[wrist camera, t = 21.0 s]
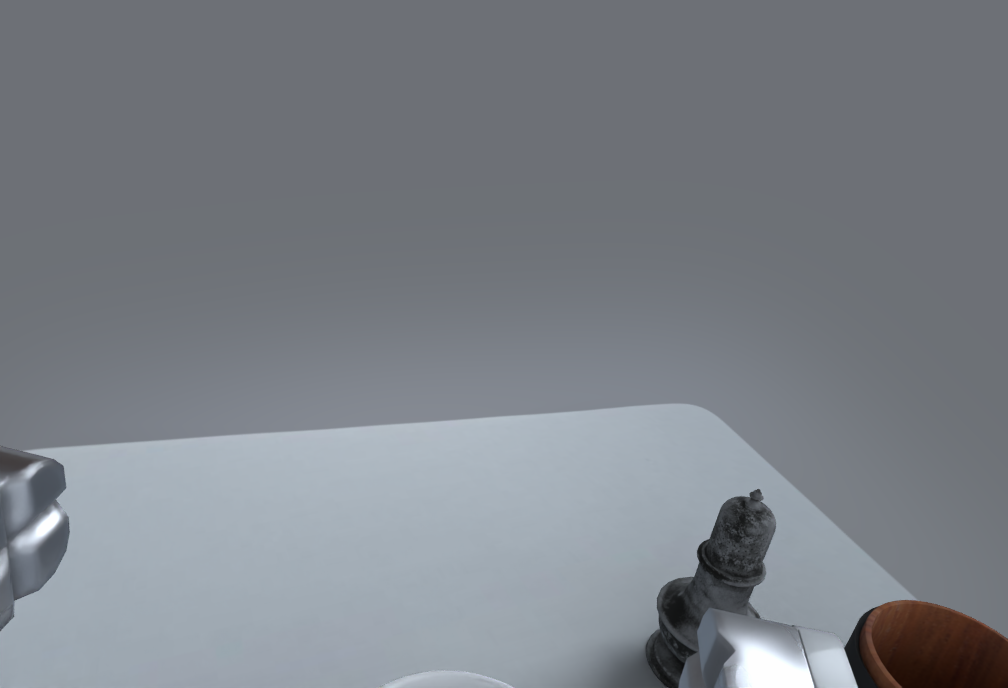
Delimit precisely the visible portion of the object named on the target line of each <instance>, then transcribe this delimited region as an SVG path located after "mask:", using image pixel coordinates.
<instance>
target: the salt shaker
mask: <svg viewBox="0 0 1008 688" xmlns="http://www.w3.org/2000/svg"><path fill="white" fill-rule="evenodd" d="M750 497H751V498H750ZM750 497H741V496H740V497H734V498H731V499H729V500H727V501H726V502H725V503H724V504H723V505H722V507H721V509H720V512H719V514H718V517H717V520H716V523H715V526H714V528H713V531H712V534H711V537H710V539H708V540H706V541H704V542H702V543H701V544H700V545H699V548H698V550H697V557H698V559H699V562H700V563H699V565H698V568H697V571H696V574H695V576H694V577H686V578H678V579H675V580H673V581H670V582H668V583H667V584H666V585H665V586H664V587H663V588H661V590H660V593H659V595H658V597H657V609H658V613H659V625H660V629H659V630H657V631H656V632H655V633H654V634H652V635H651V637H650V639H649V641H648V644H647V658H648V661H649V665H650V666H651V668H652V670H653V671H654V673H655V675H656V676H657V677H658V678H659V679H660V680H661V681H662V682H663V683H664V684H665V685H666V686H667V687H669V688H679V682H680V678H681V675H682V672H683V669H684V666H685V663H686V660H687V658H689V657H690V656H692V655H694V654H695V653H697V652H699V644H698V635H697V630H698V628H699V625H700V623H701V620H702V618H703V615H704V614H705V613H706V611H707V610H708V609H709V608H713V609H718V610H722V611H727V612H731V613H736V614H741V615H745V616H750V617H754V618H759V619H761V618H760V616H759V614H758V613H757V612H756V610H755V609H754V608H753V607H752V605H751V604H750V603H749V602H748V601H749V598H750V596H751V593H752V591H753V589H754V586H756V585H758V584H760V583H761V582H762V581H763V580H764V579H765V575H766V568H765V565H764V563H763V560H764V557H765V555H766V552H767V550H768V547H769V545H770V542H771V540H772V537H773V535H774V532H775V529H776V520H775V517H774V515H773V513H772V511H771V510H770V509H769V508H768V507H767V506H766V505H765V504H763V503H762V502H760V501H762V500H763V496H762V493H761V492H760V489H757V490H754V491H753V492H751V493H750Z"/></svg>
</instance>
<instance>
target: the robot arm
mask: <svg viewBox="0 0 1008 688" xmlns="http://www.w3.org/2000/svg"><path fill="white" fill-rule="evenodd" d="M65 489H66V482H65V474H64V467H63V465H61V464H60V463H58V462H57V461H56V460H54V459H51V458H47V457H43V456H39V455H35V454H31V453H27V452H23V451H19V450H15V449H11V448H7V447H3V446H0V631H1V630H2V629H3V628H4V627H5V626H6V624H7V623H8V622H9V621H10V620H11V619H12V618H13V617H14V601H15V600H17V599H19V598H22V597H24V596H27V595H29V594H31V593H34V592H36V591H39V590H40V589H41V588H42V587H43V586H44V584H45V583H46V582H47V581H48V580H49V579H50V578H51V577H52V576H53V575H54V573H55V572H56V570H57V568H58V566H59V564H60V562H61V560H62V558H63V556H64V554H65V552H66V549H67V544H68V539H69V533H70V531H69V517H68V515H67V514H66V513H65V511H64V510H63V509H62V507H61V506H60V505H59V503H58V502H57V500H56V499H57V498H58V496H59V495H60V494H61V493H62V492H63V491H64V490H65ZM697 635H698V644H699V652H697V653H695V654H694V655H692V656H690V657H689V658H687V660H686V663H685V666H684V669H683V672H682V675H681V678H680V682H679V688H858V686H857V683H856V680H855V678H854V675H853V672H852V669H851V666H850V664H849V661H848V658H847V655H846V652H845V650H844V647H843V644H842V641H841V640H840V639H839V638H838V637H837V635H836V634H834V633H829V632H825V631H820V630H815V629H810V628H805V627H800V626H795V625H792V626H789V625H786V624H782V623H777V622H772V621H768V620H763V619H759V618H754V617H750V616H745V615H741V614H736V613H731V612H727V611H722V610H718V609H713V608H709V609H708V610H707V611H706V613H705V614H704V615H703V618H702V620H701V623H700V625H699V628H698V630H697Z"/></svg>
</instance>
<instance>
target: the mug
mask: <svg viewBox="0 0 1008 688" xmlns="http://www.w3.org/2000/svg"><path fill="white" fill-rule="evenodd" d="M844 650H845V652H846V655H847V658H848V661H849V664H850V666H851V669H852V672H853V675H854V678H855V680H856V683H857V686H858V688H1008V639H1007V638H1006V637H1004V636H1002V635H1001V634H1000V633H998V632H997V631H995V630H993V629H992V628H990V627H988V626H987V625H985V624H983V623H981V622H979V621H977V620H976V619H974V618H972V617H969V616H967V615H965V614H963V613H960V612H957V611H955V610H952V609H950V608H947V607H943V606H940V605H937V604H932V603H928V602H922V601H913V600H900V601H893V602H888V603H885V604H883V605H880V606H878V607H875V608H873V609H871V610H869V611H868V612H866V613H865V614H864V615H863V616H862V617H861V618H860V620H859V621H858V623H857V625H856V627H855V629H854V631H853V633H852V635H851V637H850V639H849V641H848V642H847V644H846V646H845V648H844Z"/></svg>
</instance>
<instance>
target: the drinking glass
mask: <svg viewBox="0 0 1008 688" xmlns="http://www.w3.org/2000/svg"><path fill="white" fill-rule="evenodd" d="M378 688H514V687H513V686H511V685H508V684H506V683H504V682H502V681H499V680H496V679H493V678H491V677H487V676H484V675H480V674H475V673H470V672H464V671H452V670H439V671H427V672H420V673H415V674H411V675H407V676H404V677H401V678H397V679H395V680H393V681H390V682H388V683H386V684H384V685H382V686H380V687H378Z"/></svg>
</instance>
